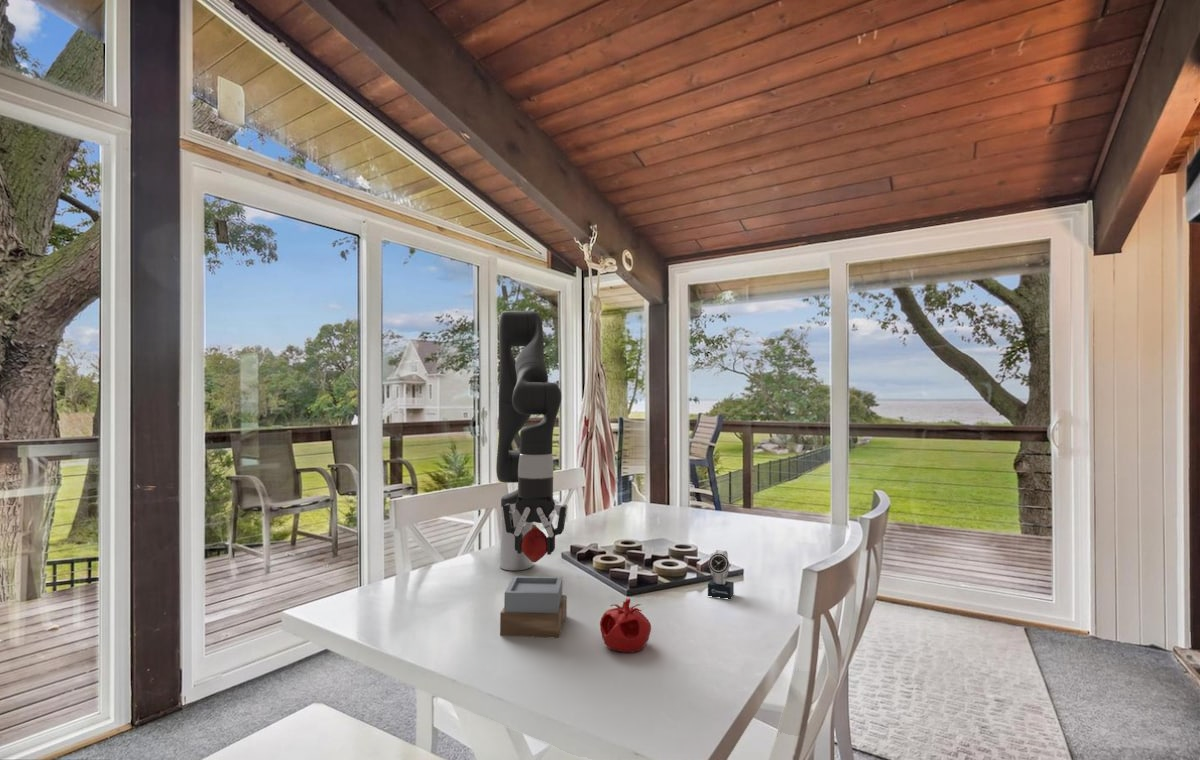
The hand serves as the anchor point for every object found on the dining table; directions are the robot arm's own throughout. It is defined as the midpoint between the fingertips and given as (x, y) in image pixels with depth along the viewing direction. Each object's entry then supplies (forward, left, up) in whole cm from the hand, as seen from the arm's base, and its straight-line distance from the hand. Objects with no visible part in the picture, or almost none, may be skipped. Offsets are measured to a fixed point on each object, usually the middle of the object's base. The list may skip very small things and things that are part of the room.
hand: (534, 553), depth 126 cm
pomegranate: (+8, +20, -16) cm, 27 cm away
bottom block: (0, 0, -16) cm, 16 cm away
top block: (0, 0, -11) cm, 11 cm away
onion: (0, 0, -2) cm, 2 cm away
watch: (-24, +42, -16) cm, 51 cm away
